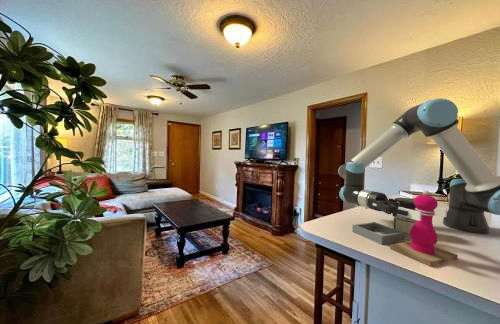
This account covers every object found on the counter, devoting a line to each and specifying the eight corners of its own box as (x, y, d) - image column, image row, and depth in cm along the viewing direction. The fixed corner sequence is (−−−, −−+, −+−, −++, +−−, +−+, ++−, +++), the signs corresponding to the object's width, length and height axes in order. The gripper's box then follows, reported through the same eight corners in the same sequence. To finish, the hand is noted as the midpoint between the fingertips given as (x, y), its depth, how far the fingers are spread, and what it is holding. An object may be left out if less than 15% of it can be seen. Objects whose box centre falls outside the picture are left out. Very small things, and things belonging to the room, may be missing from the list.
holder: (374, 228, 92) (374, 222, 92) (404, 240, 80) (405, 232, 80) (352, 231, 87) (352, 224, 87) (381, 244, 75) (381, 236, 75)
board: (415, 243, 77) (415, 239, 77) (457, 259, 66) (457, 254, 65) (390, 248, 72) (390, 244, 72) (430, 266, 61) (430, 261, 60)
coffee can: (387, 227, 94) (389, 197, 94) (411, 228, 93) (413, 198, 93) (402, 236, 84) (404, 202, 84) (429, 237, 83) (431, 203, 83)
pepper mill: (434, 248, 70) (438, 189, 69) (439, 257, 64) (443, 193, 63) (407, 242, 74) (410, 187, 72) (410, 250, 67) (413, 190, 66)
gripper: (392, 207, 90) (455, 222, 70) (350, 211, 81) (407, 230, 61) (393, 190, 90) (456, 201, 70) (351, 192, 81) (409, 205, 61)
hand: (434, 214), depth 66 cm, fingers open, 13 cm apart
